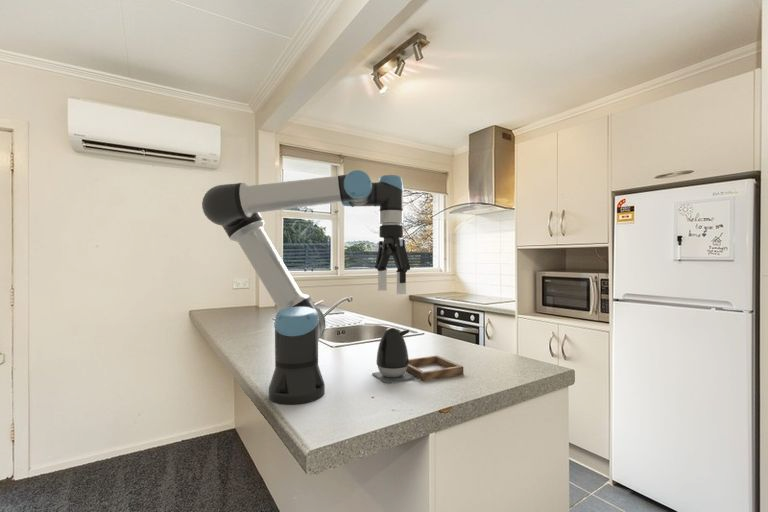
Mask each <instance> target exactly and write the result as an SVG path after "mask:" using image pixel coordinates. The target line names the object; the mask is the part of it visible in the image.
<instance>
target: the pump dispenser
mask: <svg viewBox="0 0 768 512" xmlns="http://www.w3.org/2000/svg"><path fill="white" fill-rule="evenodd" d="M409 333H410V330H409V329H405V330H402V331H401V330H400V329H399V328H397V327H394V326H389V327H387V328H386V329H385V330H384V331H383V334H382V336H381V338H380V341H379V344H378V348H377V353H376V361H375V362H376V365H377V368H378V372H380V373H381V374H382V375H384V376H386V377H390V378H395V377H399V376H401V375H403V374H404V373H405V372H406V370H407V366H408V364H409V359H410V358H409V353H408V348H407V345H406V344H407V343H406V341H405V338H404V335H408V334H409ZM406 373H407V372H406Z"/></svg>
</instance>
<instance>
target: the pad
mask: <svg viewBox="0 0 768 512" xmlns="http://www.w3.org/2000/svg"><path fill="white" fill-rule="evenodd" d="M371 375H372V376H373V377H375V378H376V379H377V380H379V381H380V382H382V383H384V385H389V384H395V383H400V382H401V383H402V382H407V381H413V380H415V379H416V378H415V377H414V376H412V375H410V374H408V373H407V372H405V373H404V374H403V375H401V376H399V377H395V378H390V377H386V376H384V375H382V374H381V373H380V371H376V372H372V373H371Z"/></svg>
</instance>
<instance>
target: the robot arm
mask: <svg viewBox="0 0 768 512" xmlns="http://www.w3.org/2000/svg"><path fill="white" fill-rule="evenodd" d="M337 203H339V204H340V203H341V204H342V206H344V207H351V208H354V207H379V210H378V211H379V212H378V221H379V222H378V224H379V225H380V226H379V227H378V228H379V230H378V231H379V238H382V239H383V240H379V241H378V250H377V255H376V260H375V265H374V269H376V270H377V274H378V275H377V276H378V277H377V281H378V282H377V283H378V285H377V286H378V289H377V291H379V292H380V291H383V292H384V291H387V283H388V281H387V278H388V277H387V276H388V275H387V274H388V273H387V270H388V268H387V267H388V263H389V261H390V257H391V256H392V258H393V261H394V264H395V266H396V271H395V272H396V295H406V294H407V277H406V276H407V272H408V271H410V270H411V266H410V261H409V258H408V252H407V249H406V242H405V241H406V240H405V239H404V238H403V237H404V226H403V225H402V224H404V223H403V222H404V217H405V216H404V213H403V212H404V185H403V179H402V177H401V176H399V175H395V174H386V175H385V174H384V175H381V176H380V177H379V178H378V181H377V182H372V179H371V177H370V176H369V174H368V173H367V172H365V171H363V170H360V169H353V170H352V171H349V172H348V173H347V174H340V175H333V176H331V175H330V176H323V177H314V178H313V177H312V178H306V179H298V180H287V181H279V182H269V183H262V184H253V185H248V184H247V183H246V182H239V183H238V182H237V183H226V184H218V185H215V186H213V187H211V188H209V189H208V190H207V191H206V193H205V194H204V196H203V198H202V201H201V206H202V207H201V208H202V211H203V214H204V216H205V217H206V218H207V219H208V220H209V221H210V222H212V223H213V224H215V225H217V226H220V227H222V228H223V230H224V231H225V233H226V234H227V236H228V238H229V240H230V241H233V242H236V243H238V245H239V246H240V248H241V250H242V251H243V253H244V255H245V256H246V258H247V260H248V261H249V263H250V265H251V266H252V267H253V269H254V271H255V273H256V274H257V276H258V278H259V280H260V281H261V283H262V284H263V286H264V288H265V289H266V291H267V293H268V294H269V296H270V297H271V299H272V301H273V302H274V304H275V306H276V308H277V311H276V314H275V316H274V317H275V318H274V319H275V320H274V324H273V325H274V327H273V328H274V355H275V357H274V363H275V364H274V370H273V375H272V377H271V380H270V383H269V387H268V399H269V401H272V402H274V403H277V404H282V405H296V404H305V403H309V402H312V401H313V402H314V401H315V400H318V399H321V398H322V397H323V396H324V395H325V390H326V389H325V386H326V385H325V382H324V378H323V375H322V373H321V370H320V367H319V339H320V338H321V337H322V336H323V335H324V333H325V329H326V318H325V315H324V313H323V311H322V310H321V309H320V308H319V307H317V305H316V304H315V303H314V302H313V300H312V298H311V296H310V295H309V294H304V293H302V291H301V290H300V287H299V286H298V284H297V283H296V281H295V280H294V277H293V276H292V274H291V273H290V271H289V270H288V268H287V266H286V265H285V263H284V261H283V259H282V258H281V257H280V255H279V253H278V251H277V250H276V248H275V247H274V244H273V243H272V241H271V240H270V238H269V237H268V235H267V233H266V231H265V230H264V225H265V220H264V218H263V216H262V215H261V213H265V212H274V211H282V210H289V209H297V208H304V207H305V208H307V207H313V206H321V205H329V204H330V205H331V204H337ZM401 238H403V239H401Z"/></svg>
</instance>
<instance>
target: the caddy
mask: <svg viewBox="0 0 768 512" xmlns="http://www.w3.org/2000/svg"><path fill="white" fill-rule="evenodd" d="M428 365H438V366H440V367H442V368H437V369H431V370H426V371H423V370H421V369H419V368H417V367H422V366H428ZM406 373H408V374H410V375H411V376H413V377H415V379H417V380H419V381H421V382H427V381H432V380H438V379H444V378H445V379H446V378H449V377H450V378H451V377H456V376H462V375H464V366H463V365H461V364H458V363H456V362H454V361H451V360H449V359H446V358H444V357H441V356H439V355H430V356H423V357H415V358H409V364H408V366H407V370H406Z"/></svg>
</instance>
